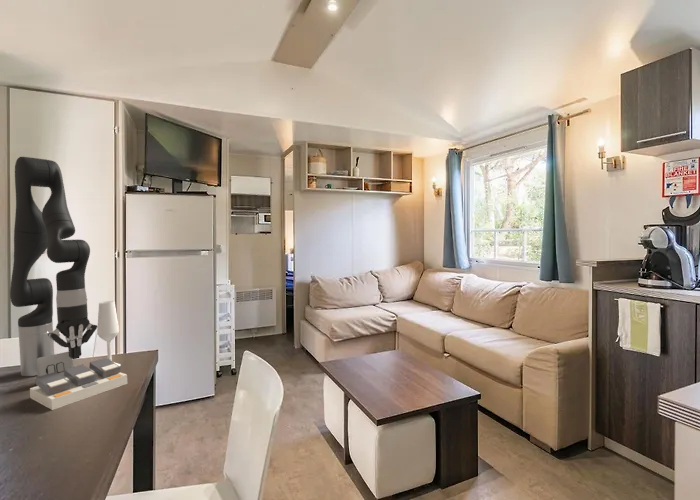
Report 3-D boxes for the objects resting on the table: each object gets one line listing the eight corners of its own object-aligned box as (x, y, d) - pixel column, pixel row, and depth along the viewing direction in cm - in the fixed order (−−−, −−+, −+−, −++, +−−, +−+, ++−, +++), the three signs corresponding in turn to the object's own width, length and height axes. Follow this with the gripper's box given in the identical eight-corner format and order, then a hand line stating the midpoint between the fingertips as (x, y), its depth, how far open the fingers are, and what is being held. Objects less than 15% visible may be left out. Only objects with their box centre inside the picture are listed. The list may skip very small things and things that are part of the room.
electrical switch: (39, 388, 115) (37, 359, 115) (35, 386, 118) (33, 357, 118) (75, 379, 122) (73, 351, 122) (70, 377, 125) (68, 350, 125)
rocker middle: (64, 375, 112) (64, 368, 112) (82, 370, 117) (82, 363, 116) (77, 386, 108) (77, 379, 108) (96, 380, 112) (96, 373, 112)
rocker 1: (35, 383, 106) (35, 376, 106) (56, 377, 111) (56, 370, 110) (48, 395, 102) (49, 387, 102) (69, 388, 106) (69, 381, 106)
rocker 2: (89, 368, 118) (89, 361, 118) (106, 363, 123) (106, 356, 122) (103, 377, 114) (103, 371, 114) (120, 372, 118) (120, 366, 118)
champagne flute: (97, 371, 128) (94, 304, 127) (99, 366, 134) (96, 301, 132) (120, 368, 131) (117, 302, 130) (121, 362, 137) (118, 299, 136)
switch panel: (30, 398, 108) (29, 385, 107) (104, 375, 125) (103, 364, 125) (52, 410, 100) (51, 397, 100) (127, 383, 117) (127, 372, 117)
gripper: (90, 299, 120) (93, 350, 121) (40, 306, 109) (44, 363, 110) (101, 300, 116) (104, 353, 117) (51, 308, 105) (54, 367, 106)
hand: (75, 358), depth 113 cm, fingers closed
